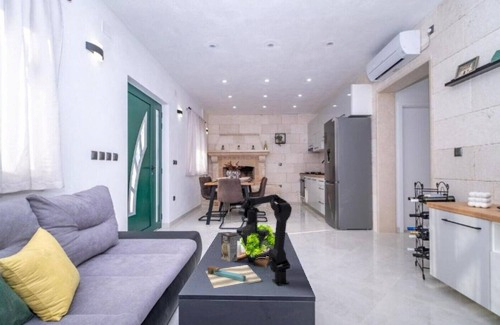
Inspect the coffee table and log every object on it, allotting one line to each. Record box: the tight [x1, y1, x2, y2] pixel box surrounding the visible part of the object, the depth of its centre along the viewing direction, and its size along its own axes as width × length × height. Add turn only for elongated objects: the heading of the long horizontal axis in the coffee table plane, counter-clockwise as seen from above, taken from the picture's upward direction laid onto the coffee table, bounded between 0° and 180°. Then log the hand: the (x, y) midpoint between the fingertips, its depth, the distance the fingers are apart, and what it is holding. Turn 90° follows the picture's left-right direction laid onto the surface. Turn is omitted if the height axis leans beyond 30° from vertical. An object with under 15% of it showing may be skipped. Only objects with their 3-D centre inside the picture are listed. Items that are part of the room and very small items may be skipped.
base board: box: [205, 264, 262, 289], centre depth 134 cm, size 21×24×1 cm
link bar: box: [214, 270, 246, 281], centre depth 132 cm, size 18×3×2 cm, turn 61°
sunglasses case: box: [252, 256, 270, 268], centre depth 155 cm, size 18×7×7 cm
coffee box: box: [220, 231, 238, 262], centre depth 159 cm, size 9×6×16 cm
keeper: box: [207, 265, 221, 275], centre depth 136 cm, size 6×3×3 cm, turn 60°
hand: (252, 246), depth 145 cm, fingers open, 9 cm apart
